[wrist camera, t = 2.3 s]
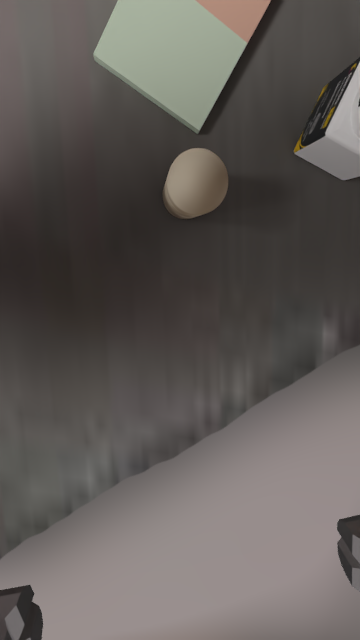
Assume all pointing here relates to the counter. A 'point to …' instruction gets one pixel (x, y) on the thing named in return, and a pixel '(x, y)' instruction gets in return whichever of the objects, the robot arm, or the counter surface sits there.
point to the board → (178, 50)
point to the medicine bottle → (335, 127)
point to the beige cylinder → (195, 184)
